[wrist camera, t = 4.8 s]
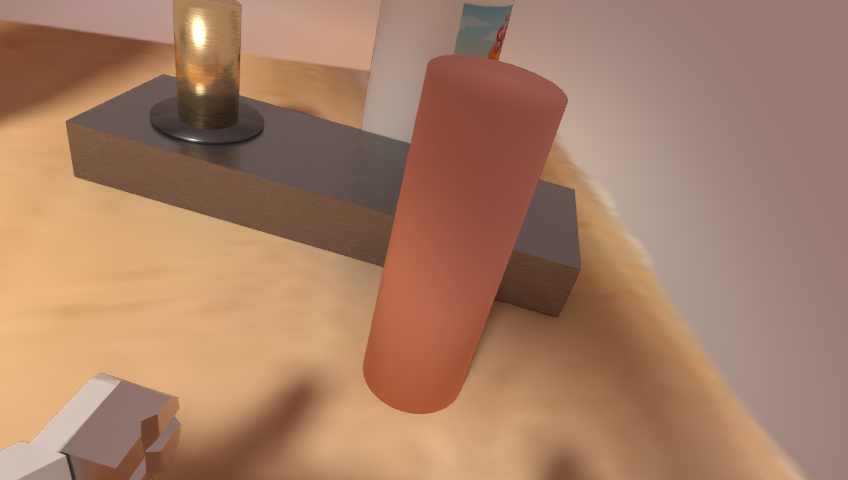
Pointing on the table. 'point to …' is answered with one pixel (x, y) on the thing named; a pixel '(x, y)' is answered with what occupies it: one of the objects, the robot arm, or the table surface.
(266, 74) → the table surface
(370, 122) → the milk bottle
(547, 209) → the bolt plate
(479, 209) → the red peg
